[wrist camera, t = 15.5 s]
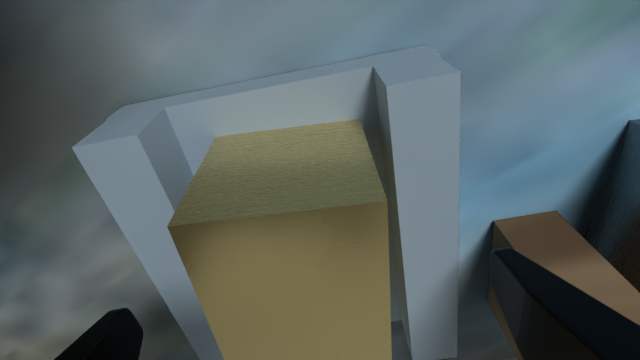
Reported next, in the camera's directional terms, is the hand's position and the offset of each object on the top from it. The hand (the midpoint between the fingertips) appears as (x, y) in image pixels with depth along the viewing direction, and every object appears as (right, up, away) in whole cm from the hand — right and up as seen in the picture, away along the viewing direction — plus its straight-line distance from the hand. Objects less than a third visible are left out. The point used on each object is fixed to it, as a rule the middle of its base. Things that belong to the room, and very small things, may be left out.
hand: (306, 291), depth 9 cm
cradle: (0, +2, +3) cm, 3 cm away
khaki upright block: (0, +1, +2) cm, 2 cm away
